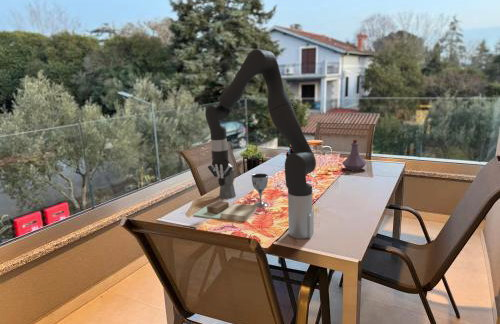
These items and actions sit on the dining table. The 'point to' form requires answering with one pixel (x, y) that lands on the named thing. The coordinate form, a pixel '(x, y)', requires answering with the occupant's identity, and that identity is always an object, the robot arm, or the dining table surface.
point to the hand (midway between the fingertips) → (222, 185)
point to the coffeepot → (228, 187)
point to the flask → (354, 159)
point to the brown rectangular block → (217, 207)
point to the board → (239, 212)
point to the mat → (205, 214)
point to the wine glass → (260, 186)
